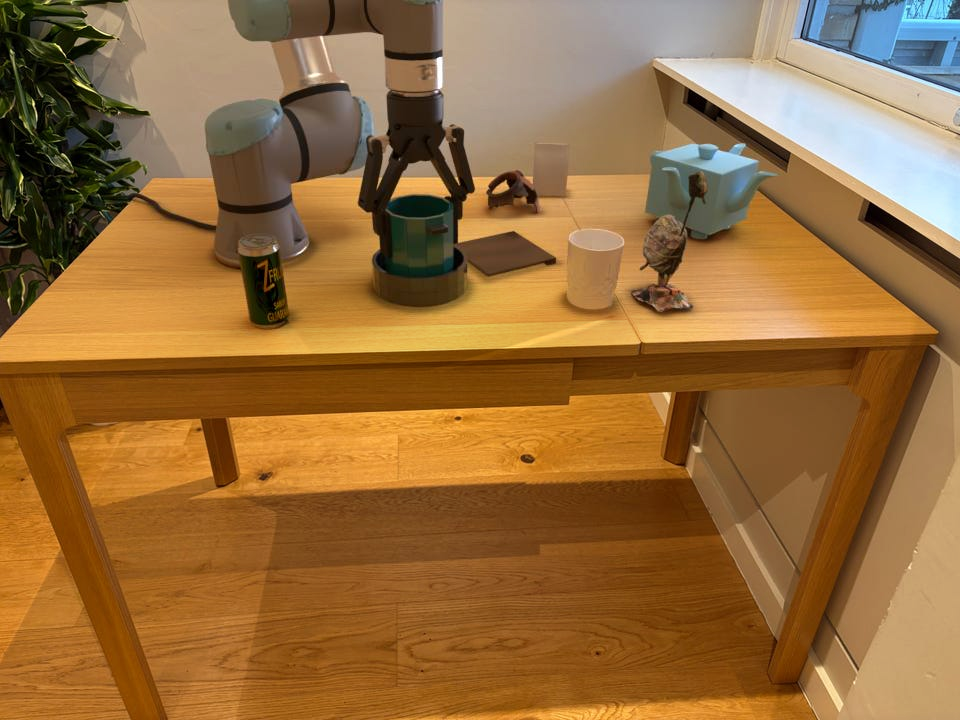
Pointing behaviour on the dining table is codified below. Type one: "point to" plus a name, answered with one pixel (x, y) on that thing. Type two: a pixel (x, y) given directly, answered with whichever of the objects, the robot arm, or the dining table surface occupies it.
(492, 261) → the trivet
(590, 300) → the white cup
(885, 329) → the dining table surface
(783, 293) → the dining table surface
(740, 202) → the teakettle
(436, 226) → the pot
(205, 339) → the dining table surface
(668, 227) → the brown figurine
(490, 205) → the brown arched frame
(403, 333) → the dining table surface
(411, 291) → the pan
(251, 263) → the green soda can
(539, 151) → the white upright block
